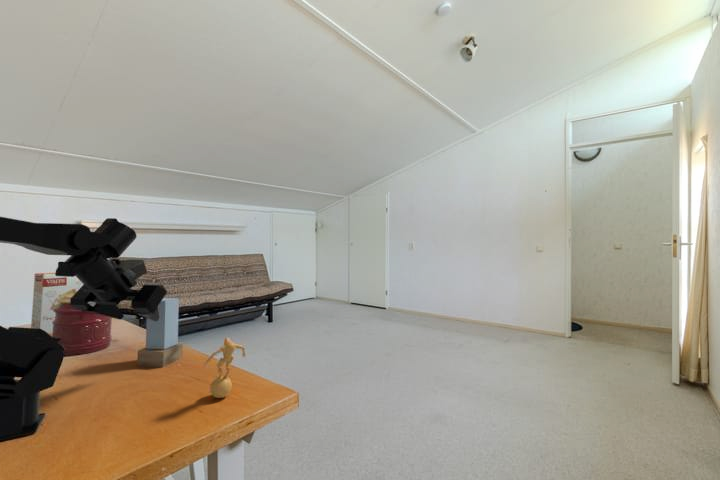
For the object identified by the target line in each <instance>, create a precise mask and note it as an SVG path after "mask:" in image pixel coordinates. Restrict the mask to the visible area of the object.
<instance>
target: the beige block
mask: <svg viewBox="0 0 720 480" xmlns="http://www.w3.org/2000/svg"><path fill="white" fill-rule="evenodd" d="M183 348H184V343H178V344H176V345H174V346H171V347H169V348H166V349H146V347H143V348H140V349H138V350H137V360H136V361H137V362H136V363H137V365H136V366H139V367H148V368H149V367H151V368H152V367H153V368H165V367H167V366H169V365H172V364H173V363H175V362H177V361H180V360H181V359H183V352H184V350H183Z"/></svg>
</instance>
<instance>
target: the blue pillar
mask: <svg viewBox="0 0 720 480" xmlns="http://www.w3.org/2000/svg"><path fill="white" fill-rule="evenodd" d="M179 299H180V297H178V298H177V297H173V298H172V297H164V298H163V299H162V301H161V302H160V304H159V305H158V311H159V319H158V321H153V320H150V319H148V318H146V327H145V328H146V331H145V348H146V349H166V348H169V347H171V346H174V345H176V344H179V312H180V311H179V307H180V306H179V305H180V303H179Z"/></svg>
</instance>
